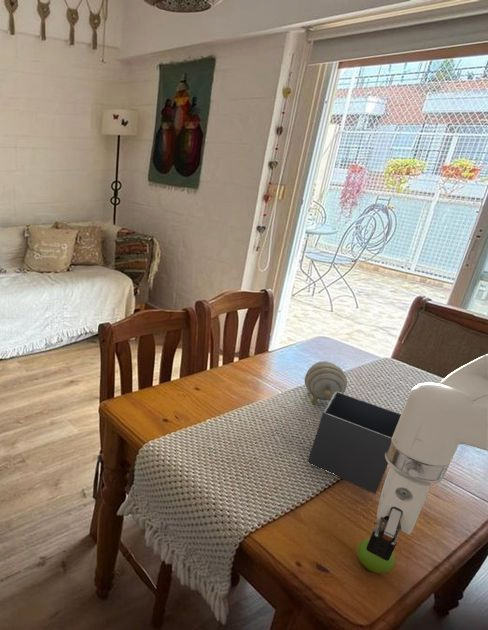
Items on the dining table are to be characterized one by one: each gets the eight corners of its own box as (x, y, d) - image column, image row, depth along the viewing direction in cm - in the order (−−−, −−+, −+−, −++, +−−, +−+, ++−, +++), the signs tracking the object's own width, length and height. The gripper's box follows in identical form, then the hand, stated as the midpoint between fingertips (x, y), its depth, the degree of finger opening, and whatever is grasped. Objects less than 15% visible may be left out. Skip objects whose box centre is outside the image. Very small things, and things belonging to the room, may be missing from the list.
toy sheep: (335, 387, 133) (345, 355, 129) (347, 419, 119) (359, 385, 114) (297, 381, 136) (305, 349, 132) (304, 411, 122) (314, 377, 117)
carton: (384, 465, 103) (405, 415, 97) (375, 494, 95) (397, 440, 89) (320, 439, 111) (335, 391, 105) (307, 463, 103) (322, 412, 97)
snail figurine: (342, 559, 80) (361, 510, 75) (367, 548, 82) (387, 501, 77) (370, 586, 75) (392, 536, 71) (396, 574, 77) (419, 525, 73)
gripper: (442, 503, 61) (400, 587, 67) (449, 442, 73) (413, 519, 80) (378, 476, 65) (345, 557, 72) (395, 423, 77) (366, 497, 84)
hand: (381, 537), depth 76 cm, fingers open, 8 cm apart
